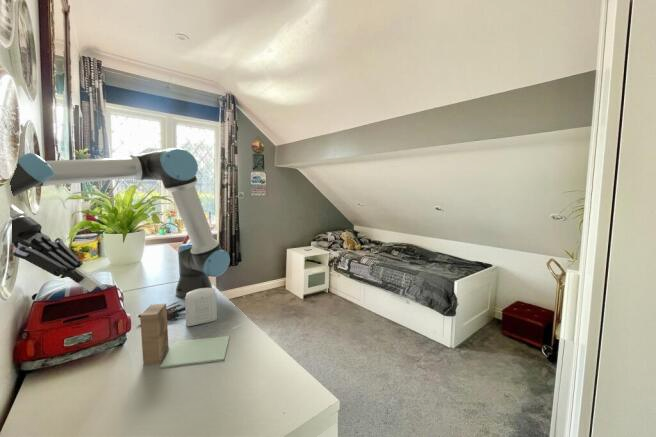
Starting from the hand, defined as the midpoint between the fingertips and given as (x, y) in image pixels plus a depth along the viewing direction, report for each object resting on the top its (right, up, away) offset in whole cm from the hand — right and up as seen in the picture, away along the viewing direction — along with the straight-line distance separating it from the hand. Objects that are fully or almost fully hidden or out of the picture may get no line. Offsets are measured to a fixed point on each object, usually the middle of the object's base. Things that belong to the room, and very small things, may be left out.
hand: (95, 287), depth 72 cm
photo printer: (+17, -19, +25) cm, 36 cm away
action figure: (+3, -19, +28) cm, 34 cm away
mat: (+24, -21, +8) cm, 33 cm away
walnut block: (+13, -21, +5) cm, 25 cm away
